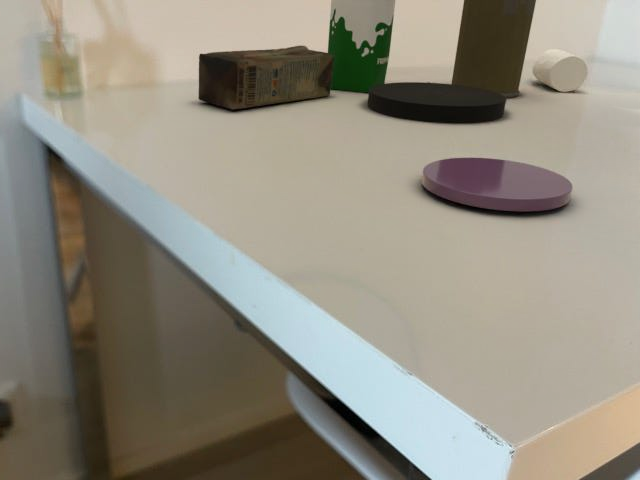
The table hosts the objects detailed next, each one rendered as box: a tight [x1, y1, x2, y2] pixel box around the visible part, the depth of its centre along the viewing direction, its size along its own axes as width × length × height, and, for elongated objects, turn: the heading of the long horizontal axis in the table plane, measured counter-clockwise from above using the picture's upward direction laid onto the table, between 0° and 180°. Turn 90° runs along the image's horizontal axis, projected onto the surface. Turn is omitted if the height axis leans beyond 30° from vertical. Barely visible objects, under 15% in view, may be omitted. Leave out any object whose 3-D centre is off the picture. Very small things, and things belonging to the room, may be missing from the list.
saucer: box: [421, 157, 573, 212], centre depth 56 cm, size 12×12×1 cm
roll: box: [532, 48, 589, 93], centre depth 108 cm, size 6×12×6 cm, turn 177°
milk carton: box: [327, 0, 396, 94], centre depth 98 cm, size 9×9×20 cm
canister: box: [451, 0, 537, 99], centre depth 98 cm, size 11×10×20 cm
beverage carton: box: [198, 45, 334, 111], centre depth 90 cm, size 8×19×7 cm, turn 133°
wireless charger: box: [367, 81, 507, 124], centre depth 89 cm, size 18×18×2 cm
